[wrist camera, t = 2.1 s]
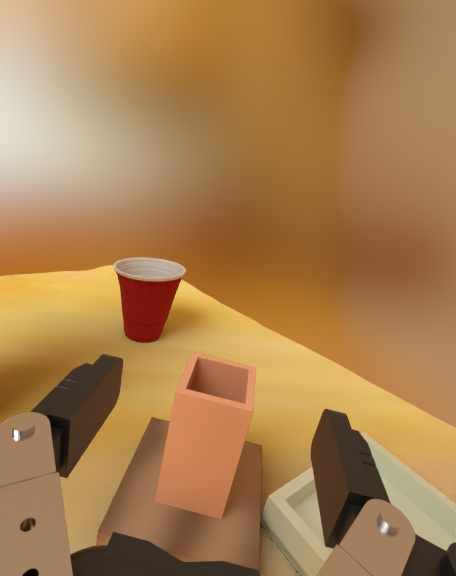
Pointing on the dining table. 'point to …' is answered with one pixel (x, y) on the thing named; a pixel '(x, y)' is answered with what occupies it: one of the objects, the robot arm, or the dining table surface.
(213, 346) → the dining table surface
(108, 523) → the stand
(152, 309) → the plastic cup
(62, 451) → the robot arm
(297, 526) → the tray
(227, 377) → the sleeve
